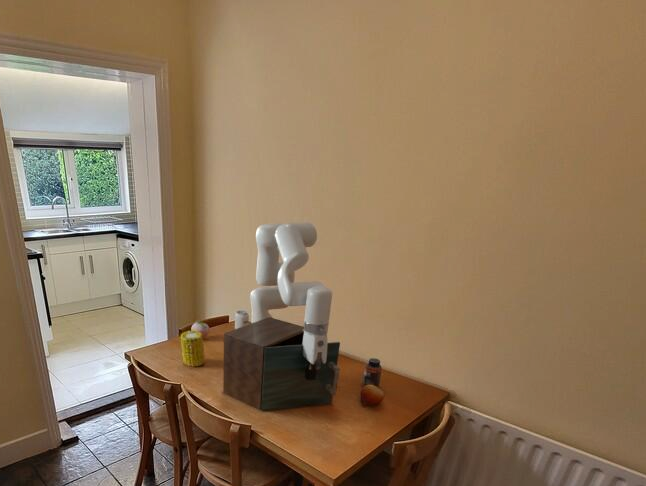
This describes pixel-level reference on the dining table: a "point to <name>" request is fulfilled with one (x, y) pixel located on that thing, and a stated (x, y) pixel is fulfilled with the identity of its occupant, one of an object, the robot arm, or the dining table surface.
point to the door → (297, 378)
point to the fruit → (371, 395)
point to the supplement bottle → (372, 373)
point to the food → (192, 348)
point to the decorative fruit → (201, 328)
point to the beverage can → (241, 319)
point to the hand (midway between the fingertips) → (310, 378)
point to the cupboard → (253, 356)
